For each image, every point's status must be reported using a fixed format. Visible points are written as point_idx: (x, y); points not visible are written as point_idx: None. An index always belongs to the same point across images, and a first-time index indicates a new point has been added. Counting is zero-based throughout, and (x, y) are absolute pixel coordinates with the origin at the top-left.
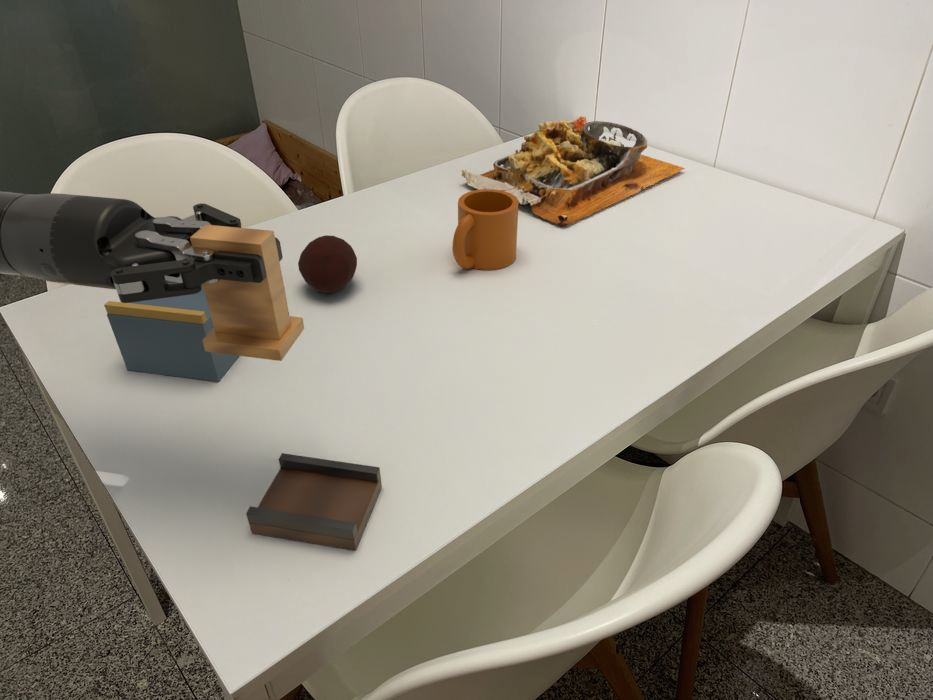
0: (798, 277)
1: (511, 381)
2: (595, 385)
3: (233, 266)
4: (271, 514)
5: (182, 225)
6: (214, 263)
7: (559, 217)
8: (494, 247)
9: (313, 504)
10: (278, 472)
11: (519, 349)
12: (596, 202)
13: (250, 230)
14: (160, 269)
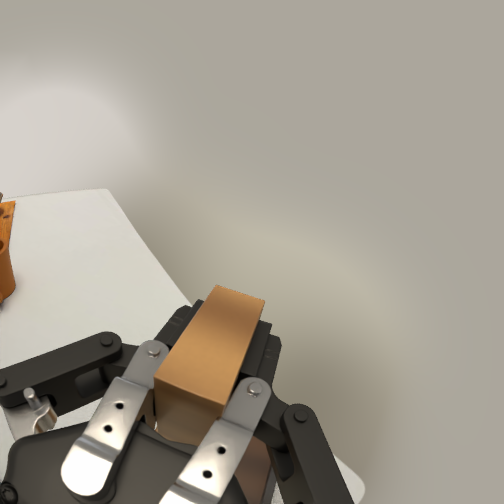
0: (114, 214)
1: (130, 329)
2: (153, 297)
3: (277, 358)
4: (271, 487)
5: (118, 429)
6: (271, 383)
7: None
8: (8, 275)
9: (249, 465)
10: None
11: (100, 314)
12: (3, 230)
13: (208, 308)
14: (332, 455)
